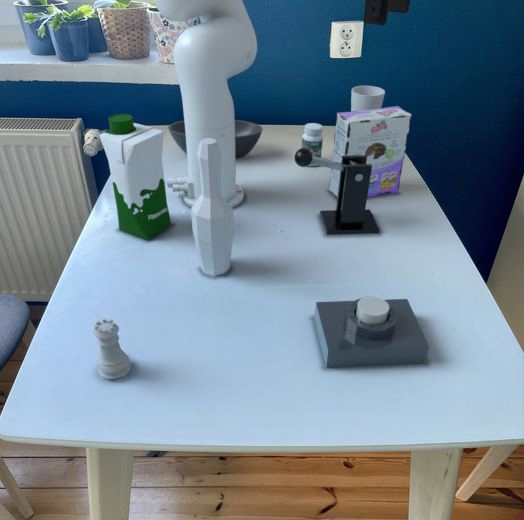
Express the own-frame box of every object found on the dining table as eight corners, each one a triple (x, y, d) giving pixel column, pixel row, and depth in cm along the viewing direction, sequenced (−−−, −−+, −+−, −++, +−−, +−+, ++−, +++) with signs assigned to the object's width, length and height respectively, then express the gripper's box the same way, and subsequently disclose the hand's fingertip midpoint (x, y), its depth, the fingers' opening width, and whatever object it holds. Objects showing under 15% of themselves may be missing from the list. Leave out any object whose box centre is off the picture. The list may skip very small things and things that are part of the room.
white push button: (359, 325, 74) (361, 316, 73) (353, 306, 78) (354, 296, 76) (390, 324, 75) (393, 314, 73) (383, 305, 78) (385, 295, 77)
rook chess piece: (100, 359, 75) (89, 314, 70) (133, 358, 76) (124, 313, 70) (96, 382, 72) (83, 336, 67) (130, 380, 72) (120, 335, 67)
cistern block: (326, 368, 75) (329, 340, 71) (314, 318, 83) (316, 292, 79) (424, 363, 76) (432, 336, 72) (403, 315, 84) (409, 288, 80)
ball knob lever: (293, 167, 94) (299, 150, 92) (291, 160, 97) (296, 143, 95) (361, 184, 98) (368, 167, 96) (357, 176, 100) (364, 160, 98)
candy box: (385, 182, 119) (398, 104, 108) (398, 194, 115) (413, 114, 104) (327, 190, 116) (335, 110, 105) (339, 202, 112) (348, 121, 101)
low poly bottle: (217, 255, 96) (210, 129, 81) (241, 269, 93) (239, 141, 78) (189, 269, 93) (177, 140, 78) (213, 284, 89) (205, 153, 74)
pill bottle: (307, 168, 124) (310, 131, 119) (296, 160, 127) (298, 124, 122) (324, 164, 126) (328, 127, 120) (313, 157, 129) (316, 121, 124)
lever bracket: (326, 236, 101) (333, 170, 93) (319, 216, 107) (325, 152, 99) (378, 235, 102) (390, 169, 94) (368, 214, 108) (379, 151, 99)
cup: (376, 148, 134) (384, 97, 126) (344, 145, 135) (350, 94, 127) (377, 136, 140) (385, 87, 132) (347, 133, 141) (352, 84, 133)
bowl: (261, 165, 125) (261, 138, 121) (166, 163, 125) (164, 136, 121) (263, 145, 134) (263, 120, 130) (175, 143, 134) (172, 117, 130)
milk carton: (143, 212, 107) (127, 107, 94) (179, 225, 104) (168, 117, 90) (112, 231, 102) (91, 122, 88) (148, 244, 98) (132, 133, 85)
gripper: (402, -144, 73) (382, 5, 84) (354, -147, 61) (338, 25, 73) (458, -143, 70) (429, 10, 81) (418, -147, 59) (391, 32, 70)
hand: (386, 17), depth 77 cm, fingers open, 9 cm apart
